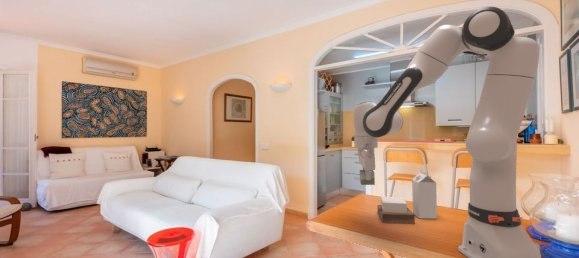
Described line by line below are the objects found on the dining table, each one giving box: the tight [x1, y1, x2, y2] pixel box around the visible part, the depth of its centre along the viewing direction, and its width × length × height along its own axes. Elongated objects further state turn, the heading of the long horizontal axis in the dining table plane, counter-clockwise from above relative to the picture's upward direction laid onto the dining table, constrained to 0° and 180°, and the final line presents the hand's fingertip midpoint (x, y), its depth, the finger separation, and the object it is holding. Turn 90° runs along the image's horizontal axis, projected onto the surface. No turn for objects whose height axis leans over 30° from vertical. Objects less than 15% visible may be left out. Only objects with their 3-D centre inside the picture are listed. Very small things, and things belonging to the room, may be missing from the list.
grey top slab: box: [380, 196, 408, 214], centre depth 110 cm, size 9×9×4 cm
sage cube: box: [359, 169, 376, 186], centre depth 104 cm, size 5×5×5 cm
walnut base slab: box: [376, 204, 416, 225], centre depth 109 cm, size 12×12×4 cm
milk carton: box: [411, 169, 438, 220], centre depth 111 cm, size 7×7×19 cm
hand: (367, 178), depth 104 cm, fingers closed on sage cube, 5 cm apart
